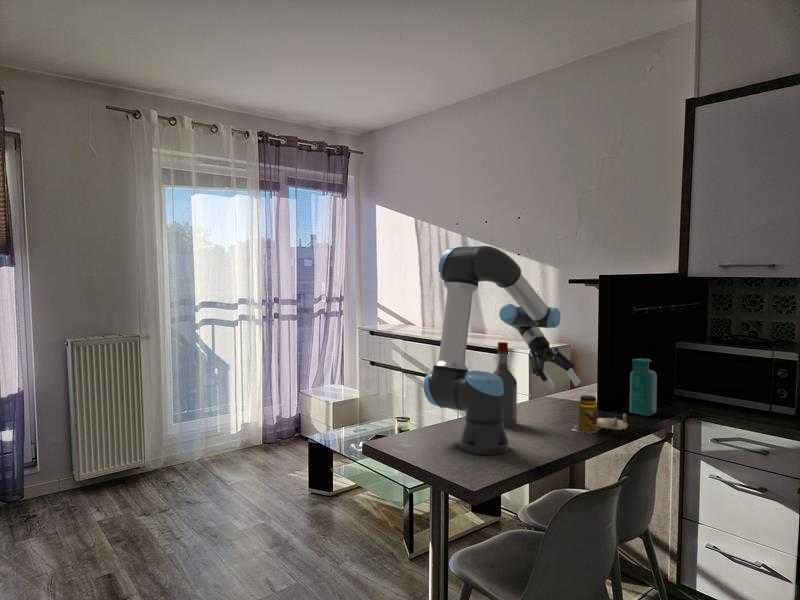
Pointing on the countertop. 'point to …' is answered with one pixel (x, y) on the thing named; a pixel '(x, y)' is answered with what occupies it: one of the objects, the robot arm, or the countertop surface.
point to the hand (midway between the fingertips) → (565, 386)
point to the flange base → (612, 423)
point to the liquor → (507, 387)
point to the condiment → (587, 414)
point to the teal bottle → (643, 388)
